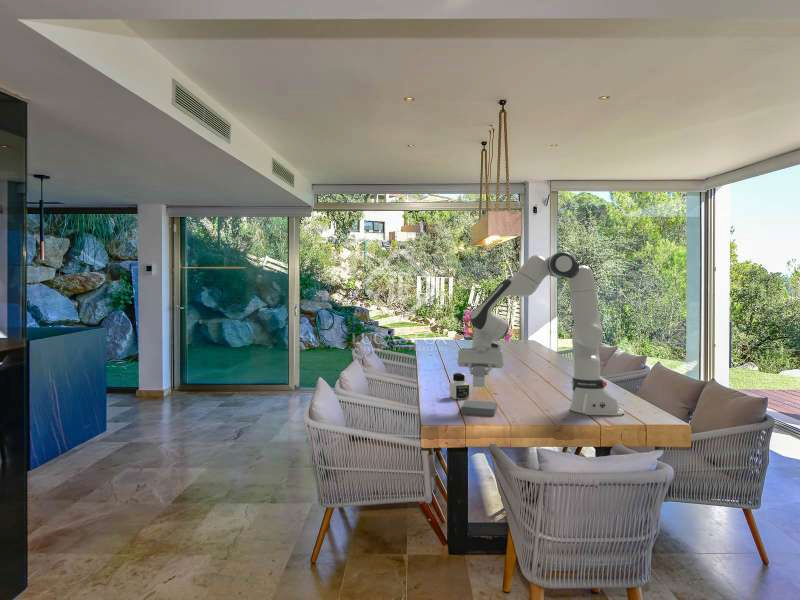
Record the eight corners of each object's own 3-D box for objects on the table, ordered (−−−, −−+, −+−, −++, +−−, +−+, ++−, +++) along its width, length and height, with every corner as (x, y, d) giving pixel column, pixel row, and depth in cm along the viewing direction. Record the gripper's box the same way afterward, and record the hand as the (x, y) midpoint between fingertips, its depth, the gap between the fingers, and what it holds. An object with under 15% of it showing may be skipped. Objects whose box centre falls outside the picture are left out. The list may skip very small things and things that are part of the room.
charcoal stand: (496, 408, 239) (496, 402, 239) (494, 416, 226) (494, 409, 226) (465, 406, 243) (465, 400, 243) (461, 414, 229) (461, 407, 229)
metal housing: (485, 385, 236) (485, 364, 235) (484, 387, 231) (484, 366, 231) (474, 384, 237) (474, 364, 237) (472, 386, 232) (473, 366, 232)
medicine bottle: (456, 399, 258) (456, 375, 257) (449, 397, 264) (449, 372, 264) (469, 398, 260) (469, 374, 260) (462, 395, 267) (462, 371, 267)
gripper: (458, 343, 243) (454, 368, 233) (504, 345, 238) (502, 370, 228) (459, 352, 247) (456, 377, 238) (504, 354, 242) (503, 379, 233)
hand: (479, 373), depth 233 cm, fingers closed on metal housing, 5 cm apart
